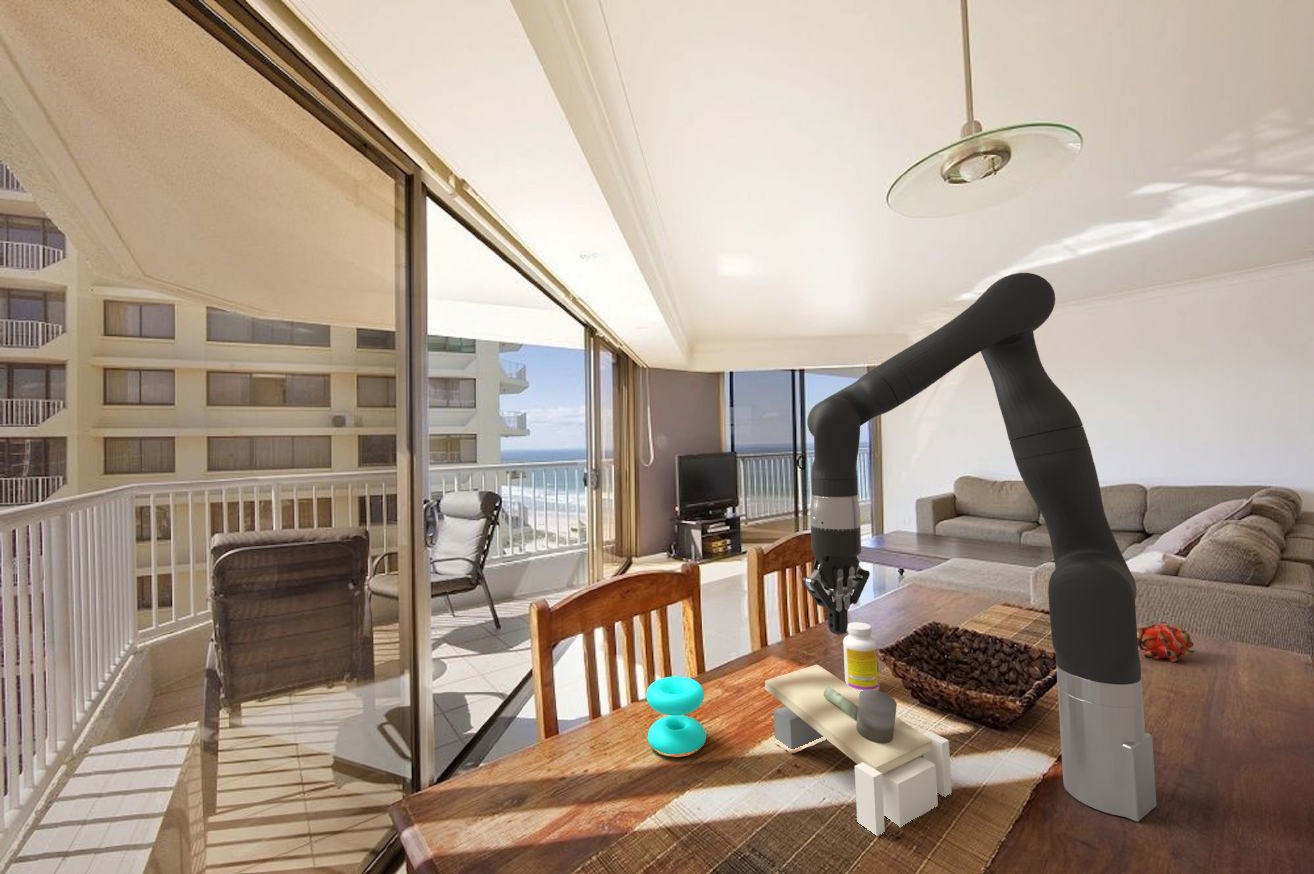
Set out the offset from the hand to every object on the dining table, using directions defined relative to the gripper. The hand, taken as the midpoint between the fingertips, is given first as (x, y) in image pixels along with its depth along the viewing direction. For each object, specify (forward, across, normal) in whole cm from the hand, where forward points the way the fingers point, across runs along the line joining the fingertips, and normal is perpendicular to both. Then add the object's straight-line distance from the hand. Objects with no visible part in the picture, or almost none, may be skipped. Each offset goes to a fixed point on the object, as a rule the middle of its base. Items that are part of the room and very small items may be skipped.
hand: (838, 632), depth 85 cm
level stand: (+21, -1, -2) cm, 21 cm away
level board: (+13, -1, -1) cm, 13 cm away
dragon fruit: (+20, +90, -9) cm, 93 cm away
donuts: (+21, -20, +18) cm, 34 cm away
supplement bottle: (+21, +24, +16) cm, 36 cm away
